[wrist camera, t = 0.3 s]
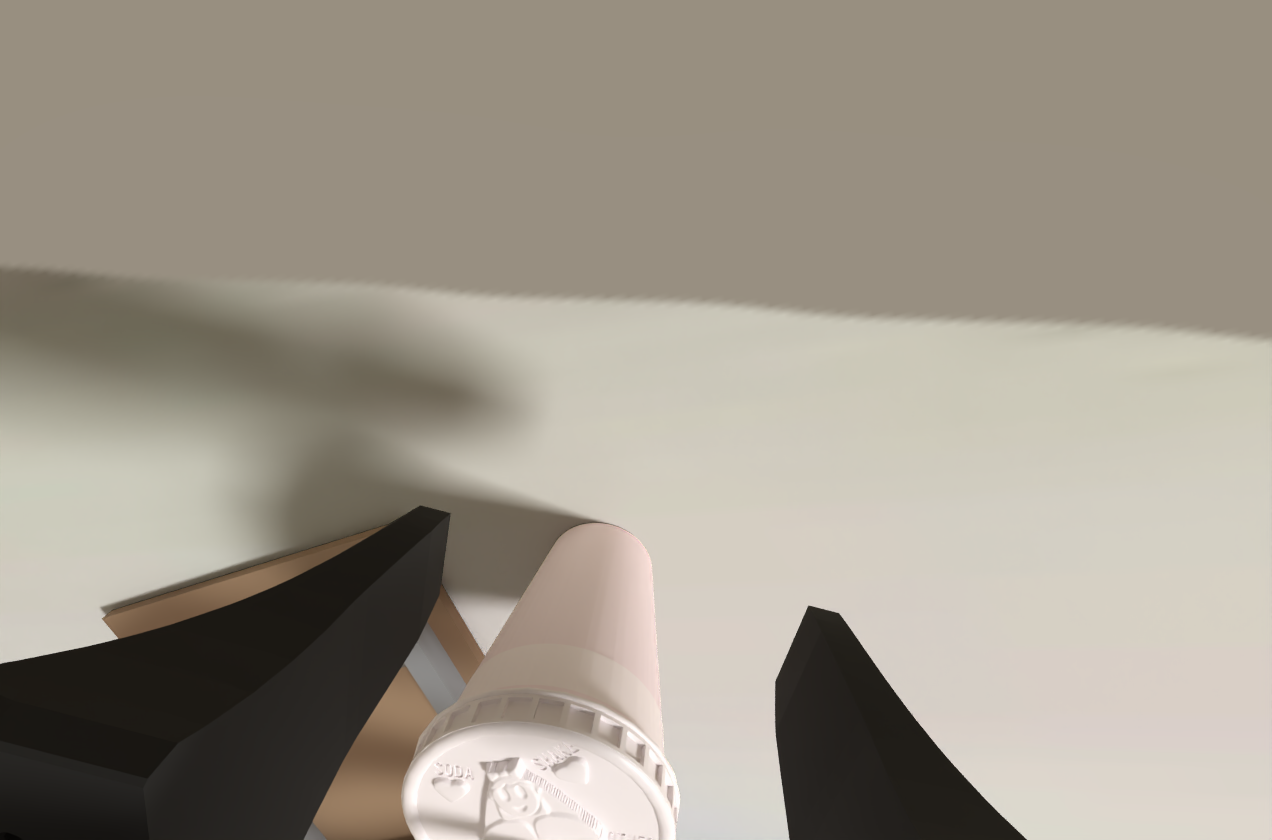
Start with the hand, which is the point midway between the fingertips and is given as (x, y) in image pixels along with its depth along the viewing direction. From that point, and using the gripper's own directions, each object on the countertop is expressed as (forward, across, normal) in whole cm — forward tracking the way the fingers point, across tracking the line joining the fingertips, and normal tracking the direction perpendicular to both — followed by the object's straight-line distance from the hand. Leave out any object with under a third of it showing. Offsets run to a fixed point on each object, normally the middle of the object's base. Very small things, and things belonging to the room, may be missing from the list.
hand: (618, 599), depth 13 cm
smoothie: (+9, 0, +6) cm, 11 cm away
